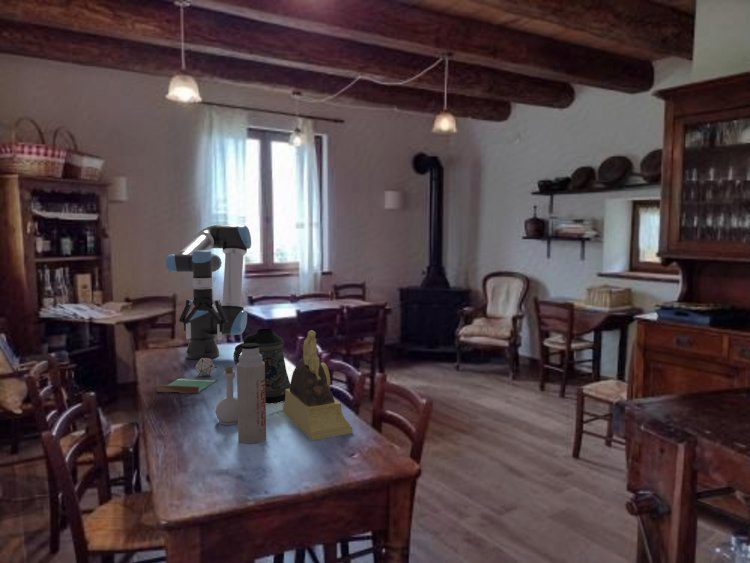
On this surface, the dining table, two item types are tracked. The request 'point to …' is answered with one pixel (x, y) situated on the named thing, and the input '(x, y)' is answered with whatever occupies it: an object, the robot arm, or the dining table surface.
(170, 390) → the walnut backstop rail
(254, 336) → the beer stein
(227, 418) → the potion bottle
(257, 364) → the thermos bottle
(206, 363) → the game die
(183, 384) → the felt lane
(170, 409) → the dining table surface
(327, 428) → the seated figure statue
